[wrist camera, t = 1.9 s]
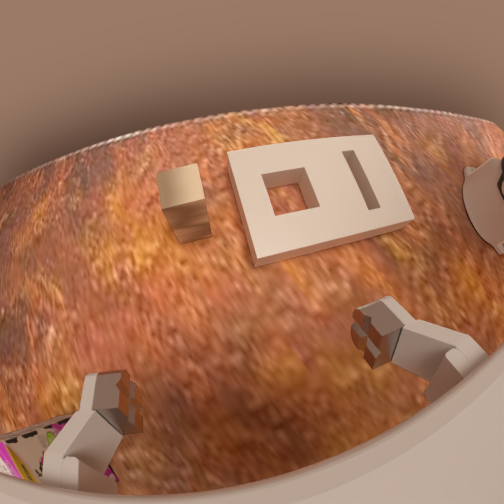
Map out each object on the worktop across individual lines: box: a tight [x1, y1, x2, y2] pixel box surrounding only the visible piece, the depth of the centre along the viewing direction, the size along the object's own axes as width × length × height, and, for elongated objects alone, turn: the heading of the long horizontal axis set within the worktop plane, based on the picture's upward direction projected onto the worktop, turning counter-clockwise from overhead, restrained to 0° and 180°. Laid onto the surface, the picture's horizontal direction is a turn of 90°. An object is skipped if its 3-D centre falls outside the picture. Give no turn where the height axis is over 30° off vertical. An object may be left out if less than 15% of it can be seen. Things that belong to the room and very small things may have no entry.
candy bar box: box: [0, 414, 119, 484], centre depth 16 cm, size 11×5×16 cm, turn 23°
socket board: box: [227, 135, 415, 267], centre depth 34 cm, size 22×14×4 cm, turn 105°
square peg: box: [157, 163, 212, 244], centre depth 29 cm, size 4×4×10 cm
